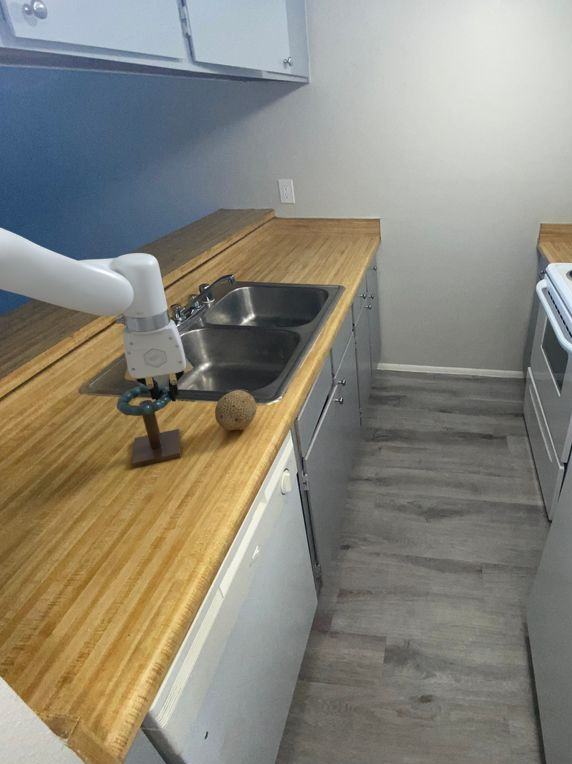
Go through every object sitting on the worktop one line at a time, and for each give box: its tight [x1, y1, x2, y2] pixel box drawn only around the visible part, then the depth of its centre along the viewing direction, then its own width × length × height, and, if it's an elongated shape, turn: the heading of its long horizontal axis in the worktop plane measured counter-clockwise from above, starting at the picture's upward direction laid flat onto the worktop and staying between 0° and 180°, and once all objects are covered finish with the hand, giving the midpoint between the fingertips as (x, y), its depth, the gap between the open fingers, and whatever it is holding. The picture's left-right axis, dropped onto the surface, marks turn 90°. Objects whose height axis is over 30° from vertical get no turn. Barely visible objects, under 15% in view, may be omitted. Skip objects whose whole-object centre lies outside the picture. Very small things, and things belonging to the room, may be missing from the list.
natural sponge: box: [214, 389, 258, 431], centre depth 108 cm, size 9×9×10 cm
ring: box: [116, 383, 172, 417], centre depth 97 cm, size 10×10×2 cm
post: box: [131, 399, 182, 468], centre depth 100 cm, size 9×9×12 cm
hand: (166, 399), depth 98 cm, fingers closed on ring, 2 cm apart
